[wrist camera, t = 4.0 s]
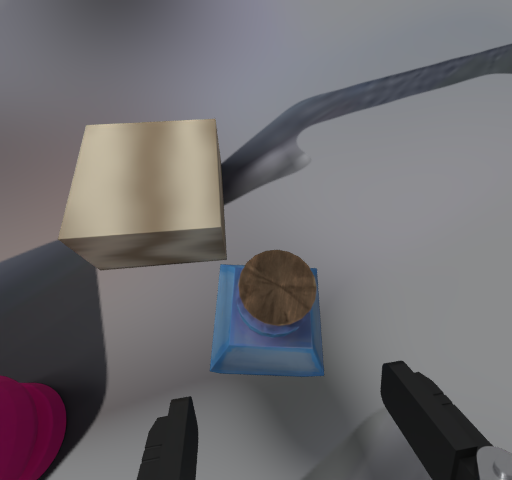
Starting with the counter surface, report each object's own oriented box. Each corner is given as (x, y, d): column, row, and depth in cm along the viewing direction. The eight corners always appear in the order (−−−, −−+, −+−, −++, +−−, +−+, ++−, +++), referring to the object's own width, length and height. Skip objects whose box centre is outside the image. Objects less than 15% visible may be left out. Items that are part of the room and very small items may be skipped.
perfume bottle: (227, 291, 23) (209, 216, 12) (300, 294, 23) (345, 222, 12) (219, 373, 20) (189, 366, 10) (303, 376, 20) (365, 374, 10)
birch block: (100, 270, 24) (57, 239, 19) (116, 172, 29) (86, 125, 24) (226, 259, 25) (220, 227, 19) (221, 165, 30) (215, 118, 24)
